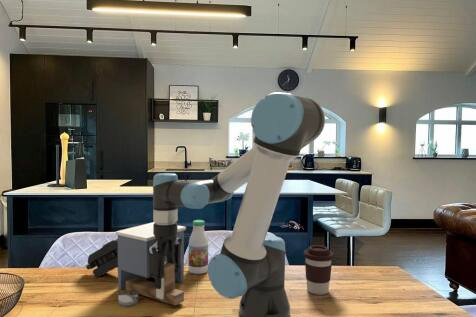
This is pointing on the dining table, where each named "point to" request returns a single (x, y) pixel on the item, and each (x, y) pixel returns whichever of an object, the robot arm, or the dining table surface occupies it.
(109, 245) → the tool
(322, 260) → the coffee cup
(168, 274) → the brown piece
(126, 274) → the cabinet
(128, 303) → the puck
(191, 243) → the milk bottle
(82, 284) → the dining table surface
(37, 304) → the dining table surface
